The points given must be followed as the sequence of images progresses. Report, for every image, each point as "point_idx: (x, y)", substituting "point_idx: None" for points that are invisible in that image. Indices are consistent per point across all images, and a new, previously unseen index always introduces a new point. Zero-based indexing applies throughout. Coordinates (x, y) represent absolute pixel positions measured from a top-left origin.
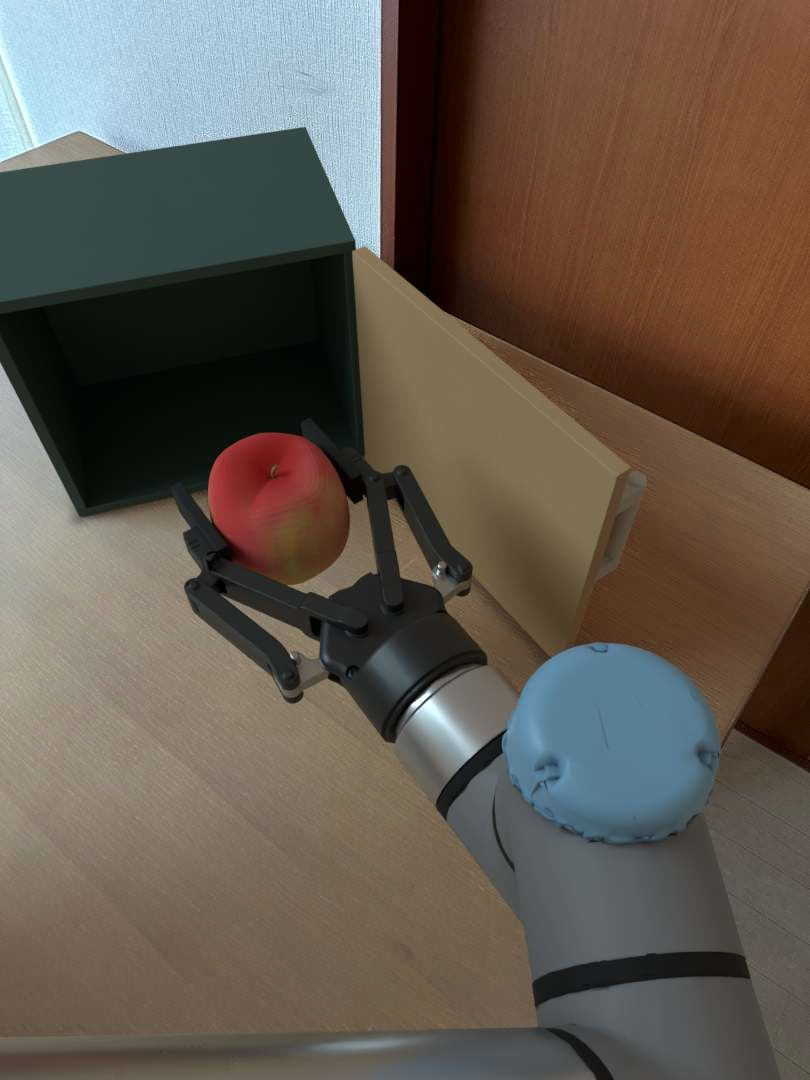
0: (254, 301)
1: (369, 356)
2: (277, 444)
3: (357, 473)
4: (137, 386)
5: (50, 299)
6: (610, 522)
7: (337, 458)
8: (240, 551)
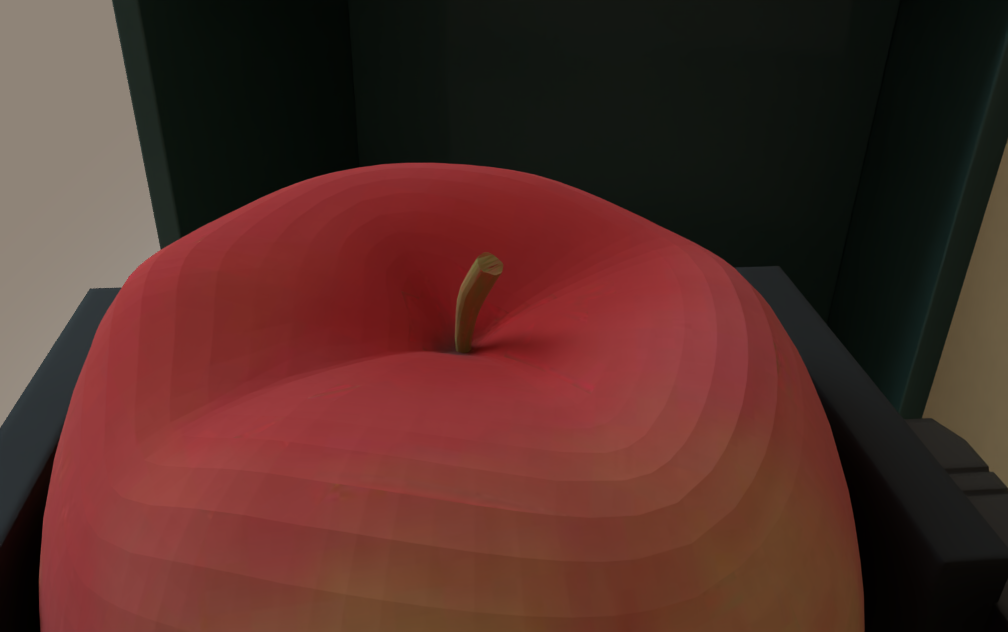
0: (720, 219)
1: (1005, 286)
2: (574, 224)
3: (985, 545)
4: None
5: None
6: None
7: (868, 432)
8: None
